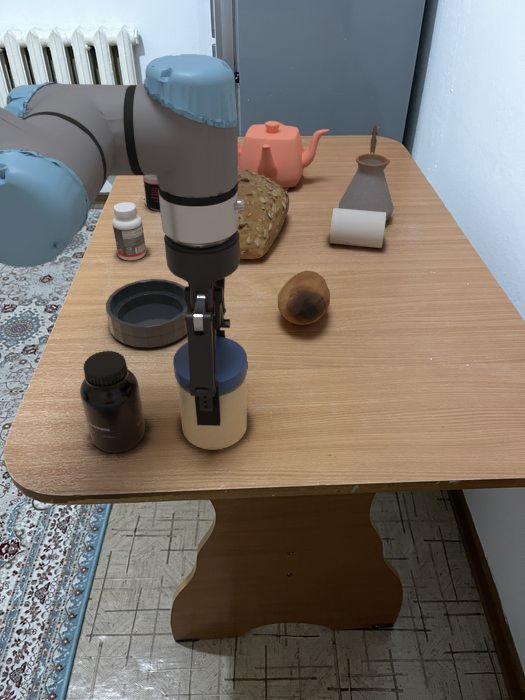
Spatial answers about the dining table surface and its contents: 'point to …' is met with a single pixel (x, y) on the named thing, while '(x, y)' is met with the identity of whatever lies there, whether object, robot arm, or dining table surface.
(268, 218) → the bread
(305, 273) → the potato
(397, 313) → the dining table surface
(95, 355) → the supplement bottle
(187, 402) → the jar
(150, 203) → the beverage can
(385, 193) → the coffee pot
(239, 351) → the jar lid
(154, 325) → the bowl
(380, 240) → the cup
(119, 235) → the pill bottle
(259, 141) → the teapot
